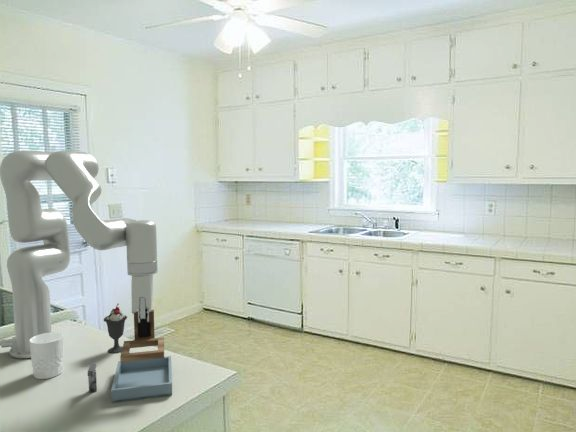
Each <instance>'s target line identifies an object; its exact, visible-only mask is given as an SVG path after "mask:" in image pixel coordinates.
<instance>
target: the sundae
mask: <svg viewBox="0 0 576 432" xmlns="http://www.w3.org/2000/svg"><path fill="white" fill-rule="evenodd" d="M119 304H120V303H117V304H116V306H115V308H112V310H111V311H110V313H109V315H107V316H105V317H104V318H103V321H104V322H105V323H106V326H107V332H108V336H109V337H110V338H111V339H112V340H113V342H114V344H113V346H112V347H110V348H109V349H108V350H107V352H108V353H110V354H119V352H120V353H121V352H122V348H123V345H122V346H121V345H120V344H119V339H120V338H121V337H122V336H123V335H124V330H125V323H126V320H127V318H128V316H127V315H126V314H124V313H123V311H122V310H121V308H120V307H119Z"/></svg>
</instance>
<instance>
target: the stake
mask: <svg viewBox="0 0 576 432" xmlns="http://www.w3.org/2000/svg"><path fill="white" fill-rule="evenodd" d="M96 369H97V362H96V361H95V362H91V363H90V364H89V366H88V369H87V377H88V393H92V394H93V393H95V392H96V393H97V390H98V389H97V387H98V385H97V370H96Z"/></svg>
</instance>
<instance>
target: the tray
mask: <svg viewBox="0 0 576 432" xmlns="http://www.w3.org/2000/svg"><path fill="white" fill-rule="evenodd" d="M172 374H173V373H172V355H169V356H164V358H158V359H149V360H139V361H130V362H120V361H117V366H116V370H115V373H114V378H113V381H112V384H111V385H112V386H111V389H110V397H111V398H110V399H111V400H110V402H111V403H119V402H127V401H128V402H129V401H136V400H145V399H152V398H161V397H167V396H168V397H169V396H173V377H172Z"/></svg>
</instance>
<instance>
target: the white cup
mask: <svg viewBox="0 0 576 432" xmlns="http://www.w3.org/2000/svg"><path fill="white" fill-rule="evenodd" d="M51 332H52V331H51ZM29 342H30V351H31V358H30V359H31V366H32V373H33V374H32V375H33V378H34V379H37V380H48V379H51V378H52V379H53V378H54V377H57V376H59V375H60V374H62V373H63V362H64V334H63V333H61V332H56V331H55V332H52V333H44V334H40V335H37V336H34V337H32V338H31V339H30V340H29Z"/></svg>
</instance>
